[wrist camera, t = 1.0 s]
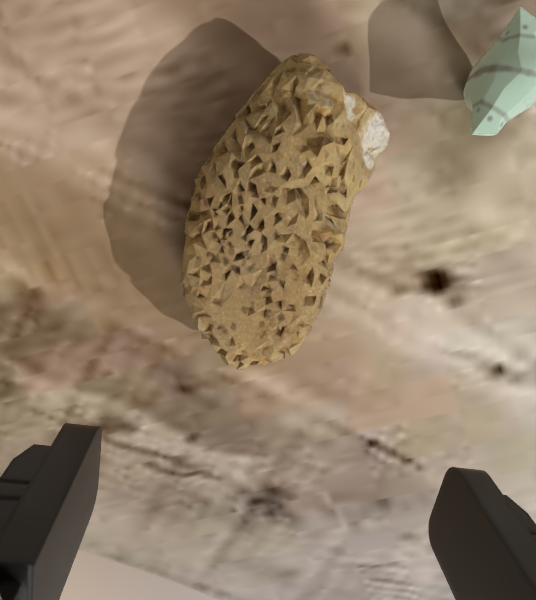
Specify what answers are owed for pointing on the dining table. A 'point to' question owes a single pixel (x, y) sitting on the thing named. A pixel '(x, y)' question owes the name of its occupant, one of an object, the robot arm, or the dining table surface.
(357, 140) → the sponge
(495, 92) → the mint green faceted piece
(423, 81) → the dining table surface
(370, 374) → the dining table surface
